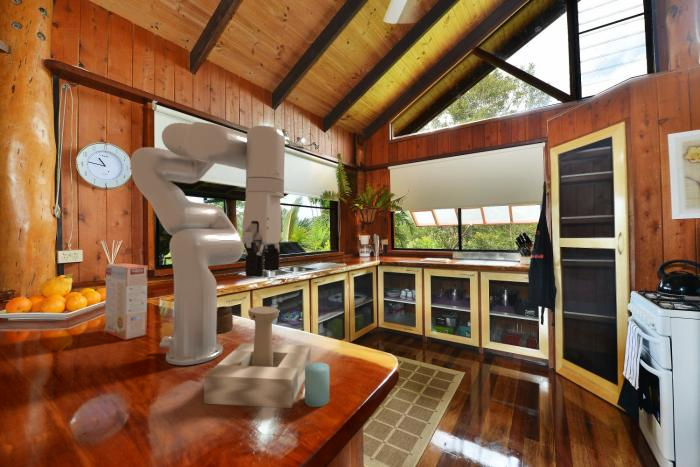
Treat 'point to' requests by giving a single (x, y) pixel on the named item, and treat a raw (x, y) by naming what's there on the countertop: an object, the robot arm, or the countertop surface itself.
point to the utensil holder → (224, 319)
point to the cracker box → (126, 300)
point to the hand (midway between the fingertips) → (263, 273)
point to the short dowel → (317, 384)
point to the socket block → (258, 377)
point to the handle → (263, 335)
